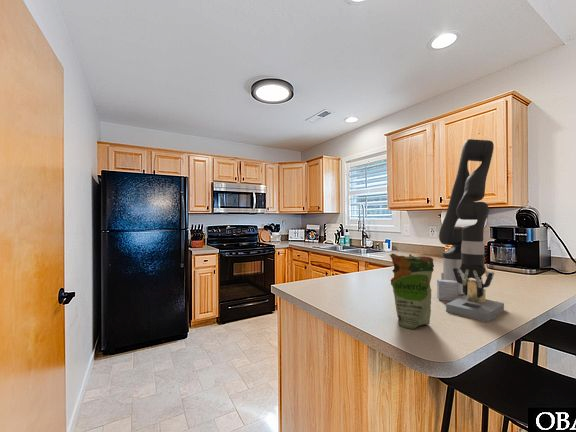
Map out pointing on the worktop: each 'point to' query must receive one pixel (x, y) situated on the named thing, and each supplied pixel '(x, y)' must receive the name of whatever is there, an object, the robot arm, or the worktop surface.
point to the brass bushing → (472, 291)
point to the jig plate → (476, 308)
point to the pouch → (412, 289)
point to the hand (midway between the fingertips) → (472, 295)
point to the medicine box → (447, 290)
